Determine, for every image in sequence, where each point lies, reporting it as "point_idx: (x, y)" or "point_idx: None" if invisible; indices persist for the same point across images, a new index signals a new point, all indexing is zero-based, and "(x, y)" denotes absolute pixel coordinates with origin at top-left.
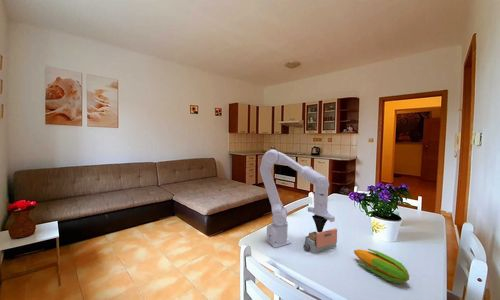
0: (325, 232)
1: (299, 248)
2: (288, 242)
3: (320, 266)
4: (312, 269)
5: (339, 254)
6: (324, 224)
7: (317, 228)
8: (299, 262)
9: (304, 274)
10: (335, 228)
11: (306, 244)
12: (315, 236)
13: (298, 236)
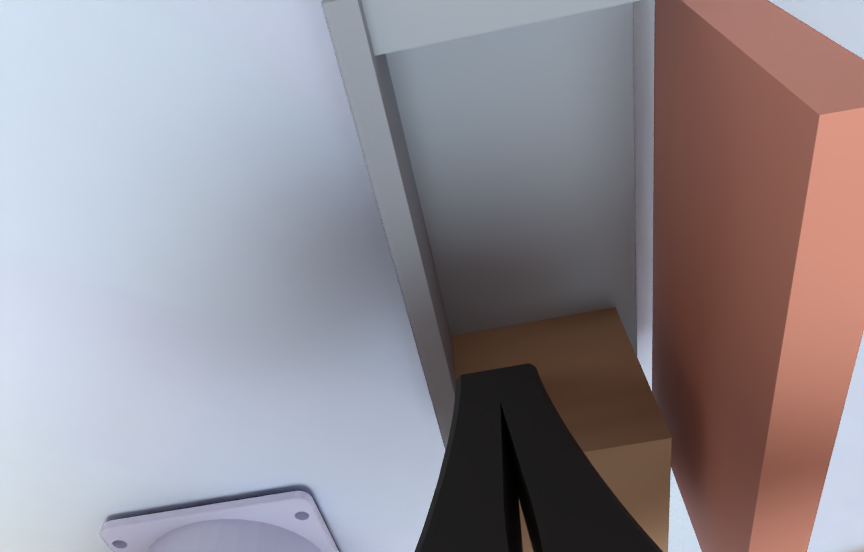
0: (810, 499)
1: (440, 448)
2: (302, 520)
3: (848, 409)
4: (832, 482)
5: (824, 24)
6: (637, 534)
7: (520, 533)
8: (680, 527)
9: (838, 547)
10: (825, 111)
11: None
12: (659, 546)
13: (84, 344)
